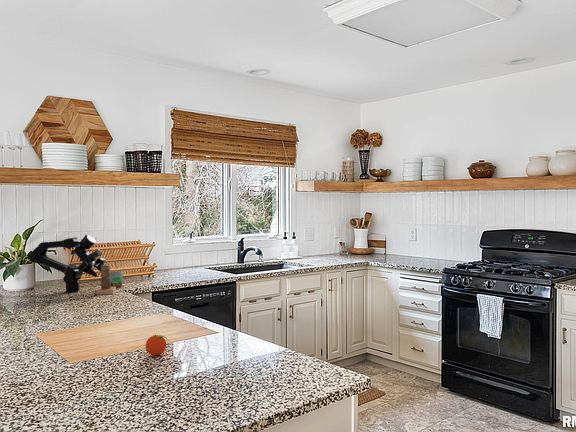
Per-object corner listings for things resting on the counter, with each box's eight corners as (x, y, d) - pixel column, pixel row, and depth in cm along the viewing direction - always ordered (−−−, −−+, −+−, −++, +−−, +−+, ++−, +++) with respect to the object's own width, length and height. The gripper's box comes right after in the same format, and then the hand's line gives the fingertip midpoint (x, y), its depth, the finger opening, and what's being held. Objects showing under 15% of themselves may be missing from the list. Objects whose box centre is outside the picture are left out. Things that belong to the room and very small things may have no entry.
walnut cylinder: (102, 289, 280) (102, 266, 279) (100, 288, 284) (99, 265, 283) (111, 288, 283) (111, 265, 282) (109, 287, 287) (108, 264, 286)
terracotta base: (96, 294, 278) (96, 290, 278) (99, 291, 287) (99, 287, 287) (113, 293, 279) (112, 289, 279) (116, 290, 288) (115, 286, 288)
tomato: (171, 351, 176) (171, 331, 176) (167, 358, 169) (167, 337, 169) (148, 352, 176) (147, 332, 175) (143, 358, 169) (143, 337, 168)
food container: (110, 290, 291) (109, 272, 291) (104, 288, 295) (103, 271, 294) (128, 286, 301) (128, 270, 301) (122, 285, 305) (122, 269, 304)
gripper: (82, 247, 275) (101, 267, 273) (101, 243, 293) (119, 263, 291) (70, 260, 276) (88, 281, 275) (89, 256, 295) (107, 276, 293)
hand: (101, 275), depth 283 cm, fingers open, 9 cm apart
